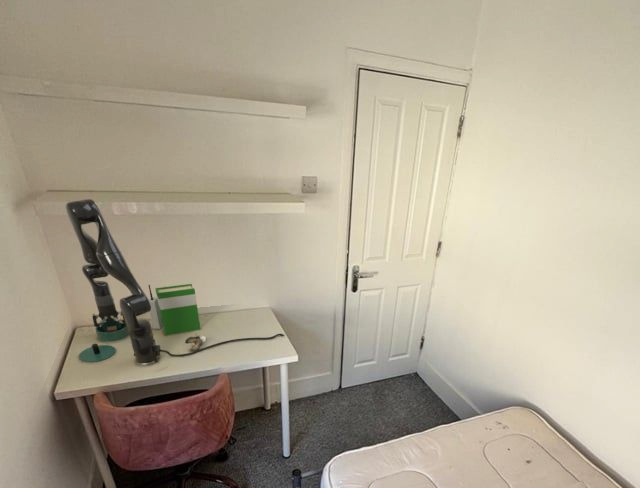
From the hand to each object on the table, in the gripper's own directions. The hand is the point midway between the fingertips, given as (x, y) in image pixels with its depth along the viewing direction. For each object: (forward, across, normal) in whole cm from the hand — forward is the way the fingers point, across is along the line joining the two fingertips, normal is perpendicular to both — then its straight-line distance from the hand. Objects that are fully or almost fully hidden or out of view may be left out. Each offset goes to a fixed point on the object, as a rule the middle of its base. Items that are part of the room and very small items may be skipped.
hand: (113, 331), depth 200 cm
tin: (+3, 0, 0) cm, 3 cm away
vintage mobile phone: (+3, +21, +2) cm, 21 cm away
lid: (+2, -8, -17) cm, 19 cm away
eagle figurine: (+3, +35, -27) cm, 44 cm away
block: (+2, 0, 0) cm, 2 cm away
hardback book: (+3, +32, -5) cm, 33 cm away
